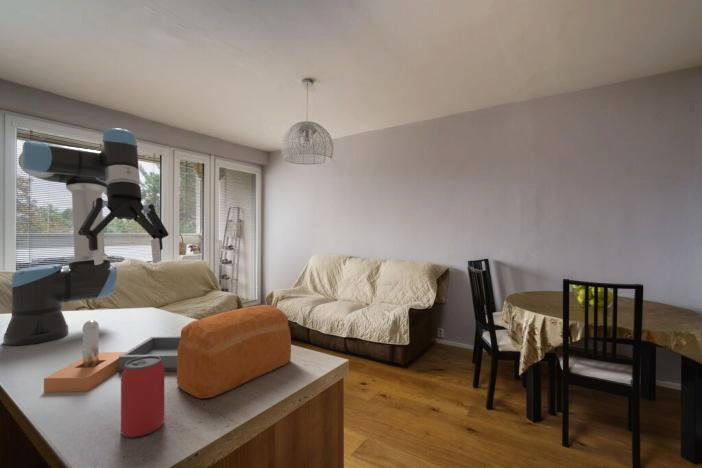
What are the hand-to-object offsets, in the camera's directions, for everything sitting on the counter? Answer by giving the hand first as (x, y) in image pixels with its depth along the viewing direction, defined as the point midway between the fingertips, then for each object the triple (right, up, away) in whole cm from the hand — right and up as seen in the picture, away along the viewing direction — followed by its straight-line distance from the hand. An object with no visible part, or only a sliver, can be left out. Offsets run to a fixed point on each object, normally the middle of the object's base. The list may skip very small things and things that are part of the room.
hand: (130, 263), depth 83 cm
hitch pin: (-6, -27, -5) cm, 28 cm away
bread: (+29, -28, -2) cm, 40 cm away
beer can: (+20, -28, -25) cm, 42 cm away
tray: (+6, -27, +5) cm, 28 cm away
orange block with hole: (-6, -27, -5) cm, 28 cm away
